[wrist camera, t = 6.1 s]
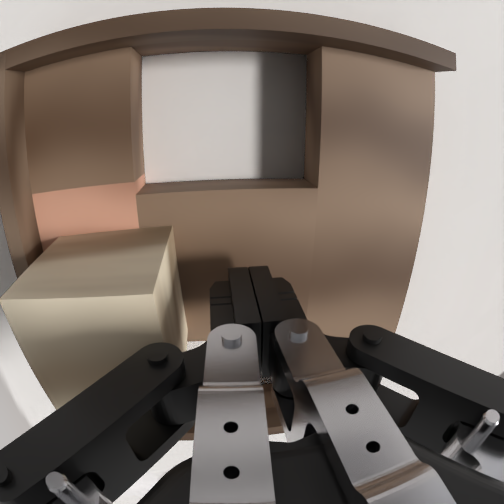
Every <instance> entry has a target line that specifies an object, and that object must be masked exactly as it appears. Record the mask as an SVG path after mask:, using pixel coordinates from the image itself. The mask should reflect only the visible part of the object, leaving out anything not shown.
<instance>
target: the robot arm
mask: <svg viewBox="0 0 504 504" xmlns="http://www.w3.org/2000/svg"><path fill="white" fill-rule="evenodd" d="M210 329H211V332H210V333H209V335H208V338H207V341H206V342H205V343H204V344H202V345H201V346H199V347H197V348H195V349H192V350H189V351H185V352H182V351H181V350H180V349H179V348H178V347H177V346H175V345H173V344H170V343H164V342H158V343H152V344H149V345H146V346H144V347H143V348H141V349H140V350H138V351H137V352H136V353H134V354H133V355H132V356H130V357H129V358H128V359H126V360H125V361H123V362H122V363H121V364H119V365H118V366H117V367H115V368H114V369H113V370H111V371H110V372H108V373H107V374H106V375H104V376H103V377H102V378H100V379H99V380H97V381H96V382H95V383H93V384H92V385H91V386H89V387H88V388H86V389H85V390H84V391H82V392H81V393H80V394H78V395H77V396H75V397H74V398H73V399H71V400H70V401H68V402H67V403H66V404H64V405H63V406H62V407H60V408H59V409H57V410H56V411H55V412H53V413H52V414H50V415H49V416H48V417H46V418H45V419H43V420H42V421H41V422H39V423H38V424H36V425H35V426H34V427H32V428H31V429H29V430H28V431H27V432H25V433H24V434H22V435H21V436H20V437H18V438H17V439H15V440H14V441H13V442H11V443H10V444H8V445H7V446H5V447H4V448H3V449H1V450H0V504H113V502H114V501H115V500H116V499H117V498H118V497H119V496H121V495H122V494H123V493H124V492H125V491H126V490H127V489H128V488H130V487H131V486H132V485H133V484H134V483H135V482H136V481H137V480H138V479H139V478H140V477H142V476H143V475H144V474H145V473H146V472H147V471H148V470H149V469H150V468H151V467H152V466H153V465H154V464H155V463H156V462H157V461H158V460H159V459H161V458H162V457H163V456H164V455H165V454H166V453H167V452H168V451H169V450H170V449H171V448H172V447H173V446H174V445H175V444H176V443H177V442H178V441H179V440H180V439H181V438H182V437H183V436H184V435H185V434H186V433H187V432H188V431H189V430H190V429H191V428H192V426H193V425H194V423H195V431H194V443H193V456H192V458H189V459H187V460H185V461H183V462H181V463H180V464H178V465H176V466H175V467H173V468H172V469H171V470H170V471H168V472H167V473H166V474H165V475H164V476H163V477H162V478H161V479H160V480H159V481H158V482H157V483H156V484H155V485H154V486H153V488H152V489H151V490H150V491H149V492H148V493H147V494H146V495H145V496H144V497H143V498H142V499H141V500H140V501H139V502H138V503H137V504H504V379H503V378H501V377H499V376H496V375H494V374H491V373H489V372H486V371H484V370H481V369H479V368H477V367H474V366H472V365H469V364H467V363H464V362H462V361H460V360H457V359H455V358H452V357H450V356H448V355H445V354H443V353H440V352H438V351H436V350H433V349H431V348H429V347H426V346H424V345H421V344H419V343H417V342H414V341H412V340H410V339H407V338H405V337H403V336H400V335H398V334H396V333H393V332H391V331H389V330H386V329H384V328H382V327H379V326H375V325H360V326H357V327H355V328H354V329H353V330H352V331H351V332H350V335H349V338H346V337H334V336H328V335H325V334H323V332H322V331H321V329H320V328H319V326H318V325H316V324H315V323H313V322H311V321H309V320H307V318H306V316H305V313H304V311H303V309H302V307H301V305H300V303H299V300H298V299H297V296H296V294H295V293H294V290H293V287H292V285H291V283H289V282H288V281H287V280H285V279H284V278H283V277H277V278H272V275H271V273H270V270H269V268H268V266H251V267H235V268H228V281H216V282H214V284H213V285H212V286H211V288H210ZM261 374H262V378H263V377H271V381H272V391H271V394H272V398H273V401H274V404H275V407H276V410H277V413H278V416H279V418H280V421H281V424H282V427H283V430H284V433H285V436H286V439H287V442H272V441H269V438H268V428H267V419H266V409H265V400H264V391H263V385H262V384H261V381H260V375H261ZM382 377H385V378H387V379H389V380H391V381H393V382H395V383H397V384H400V385H402V386H404V387H406V388H408V389H410V390H412V391H414V392H415V393H416V394H417V395H418V397H419V399H418V400H413V399H410V398H408V397H406V396H404V395H402V394H399V393H397V392H395V391H393V390H391V389H389V388H387V387H385V386H383V385H381V384H380V382H381V380H382Z"/></svg>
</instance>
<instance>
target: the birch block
mask: <svg viewBox="0 0 504 504" xmlns="http://www.w3.org/2000/svg"><path fill="white" fill-rule="evenodd" d="M0 303H1V306H2V308H3V311H4V313H5V315H6V318H7V320H8V322H9V325H10V327H11V329H12V331H13V333H14V335H15V338H16V340H17V342H18V344H19V346H20V348H21V350H22V352H23V354H24V356H25V358H26V359H27V361H28V363H29V365H30V367H31V369H32V371H33V372H34V374H35V376H36V378H37V379H38V381H39V383H40V384H41V386H42V388H43V390H44V391H45V393H46V394H47V396H48V398H49V399H50V401H51V402H52V404H53V405H54V407H55V409H56V410H57V409H59V408H60V407H62V406H63V405H64V404H66V403H67V402H68V401H70V400H71V399H73V398H74V397H75V396H77V395H78V394H80V393H81V392H82V391H84V390H85V389H86V388H88V387H89V386H91V385H92V384H93V383H95V382H96V381H97V380H99V379H100V378H102V377H103V376H104V375H106V374H107V373H108V372H110V371H111V370H113V369H114V368H115V367H117V366H118V365H119V364H121V363H122V362H123V361H125V360H126V359H128V358H129V357H130V356H132V355H133V354H134V353H136V352H137V351H138V350H140V349H141V348H143V347H144V346H146V345H149V344H152V343H158V342H164V343H170V344H173V345H175V346H177V347H178V348H179V349H180V350H181V351H182V352H185V351H187V334H188V328H187V323H186V317H185V311H184V304H183V298H182V292H181V285H180V278H179V271H178V264H177V257H176V249H175V241H174V233H173V225H172V226H160V227H149V228H138V229H127V230H117V231H106V232H97V233H87V234H78V235H69V236H60V237H58V238H57V239H56V240H55V241H54V242H53V243H52V244H51V245H50V246H49V247H48V248H47V249H46V250H45V251H44V252H43V253H42V254H41V255H40V256H39V257H38V258H37V259H36V260H35V261H34V262H33V263H32V264H31V265H30V266H29V267H28V268H27V269H26V270H25V271H24V273H23V274H22V275H21V276H20V277H19V278H18V279H17V280H16V281H15V282H14V283H13V284H12V285H11V287H10V288H9V289H8V290H7V291H6V292H5V293H4V294H3V296H2V297H1V298H0Z"/></svg>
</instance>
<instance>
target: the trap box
mask: <svg viewBox="0 0 504 504" xmlns="http://www.w3.org/2000/svg"><path fill="white" fill-rule="evenodd" d="M202 51H258V52H277V53H290V54H301V55H307V73H306V132H305V161H304V179H228V180H202V181H183V182H166V183H152V184H145V171H144V155H143V134H142V56H149V55H159V54H169V53H183V52H202ZM441 71H456V53H454V52H451V51H449V50H446V49H444V48H441V47H438V46H436V45H433V44H430V43H428V42H425V41H422V40H419V39H416V38H413V37H410V36H407V35H403V34H400V33H397V32H393V31H390V30H386V29H383V28H379V27H375V26H371V25H367V24H363V23H358V22H354V21H349V20H344V19H339V18H333V17H328V16H322V15H315V14H308V13H301V12H292V11H282V10H270V9H254V8H195V9H179V10H167V11H158V12H149V13H142V14H135V15H129V16H123V17H117V18H112V19H107V20H102V21H97V22H93V23H88V24H84V25H80V26H76V27H73V28H69V29H65V30H62V31H58V32H55V33H52V34H49V35H46V36H43V37H40V38H37V39H34V40H31V41H28V42H25V43H23V44H20V45H17V46H15V47H12V48H10V49H7V50H5V51H3V52H0V212H1V217H2V222H3V226H4V231H5V235H6V239H7V243H8V247H9V251H10V255H11V258H12V262H13V265H14V269H15V272H16V276H17V279H18V278H19V277H20V276H21V275H22V274H23V273H24V271H25V270H26V269H27V268H28V267H29V266H30V265H31V264H32V263H33V262H34V261H35V260H36V259H37V258H38V257H39V256H40V255H41V254H42V253H43V252H44V251H45V250H46V249H47V248H48V247H49V246H50V245H51V244H52V243H53V242H54V241H55V240H56V239H57V238H58V237H60V236H69V235H78V234H87V233H97V232H106V231H117V230H127V229H138V228H149V227H160V226H172V225H173V233H174V241H175V249H176V257H177V264H178V271H179V278H180V285H181V292H182V298H183V304H184V311H185V317H186V323H187V328H188V334H187V341H207V338H208V335H209V333H210V332H211V329H210V288H211V286H212V285H213V284H214V282H216V281H228V268H235V267H251V266H268V268H269V270H270V273H271V275H272V278H277V277H283V278H284V279H285V280H287V281H288V282H289V283H291V285H292V287H293V290H294V293H295V294H296V296H297V299H298V300H299V303H300V305H301V307H302V309H303V311H304V313H305V316H306V318H307V320H309V321H311V322H313V323H315V324H316V325H318V326H319V328H320V329H321V331H322V332H323V334H325V335H328V336H334V337H346V338H349V335H350V332H351V331H352V330H353V329H354V328H355V327H357V326H360V325H375V326H379V327H382V328H384V329H386V330H389V331H391V332H393V333H395V331H396V328H397V325H398V322H399V318H400V315H401V312H402V308H403V304H404V301H405V297H406V293H407V290H408V286H409V282H410V278H411V274H412V269H413V265H414V261H415V256H416V252H417V247H418V242H419V237H420V232H421V226H422V221H423V215H424V209H425V202H426V196H427V189H428V181H429V173H430V164H431V154H432V142H433V128H434V106H435V72H441ZM262 385H263V391H264V400H265V409H266V419H267V428H268V435H271V434H279V433H284V430H283V427H282V424H281V421H280V418H279V416H278V413H277V410H276V407H275V404H274V401H273V398H272V394H271V391H272V383H269V384H262ZM194 431H195V423H194V425H193V426H192V428H191V429H190V430H189V431H188V432H187V433H186V434H185V435H184V436H183V437H182V438H181V439H180V440H194Z"/></svg>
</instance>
